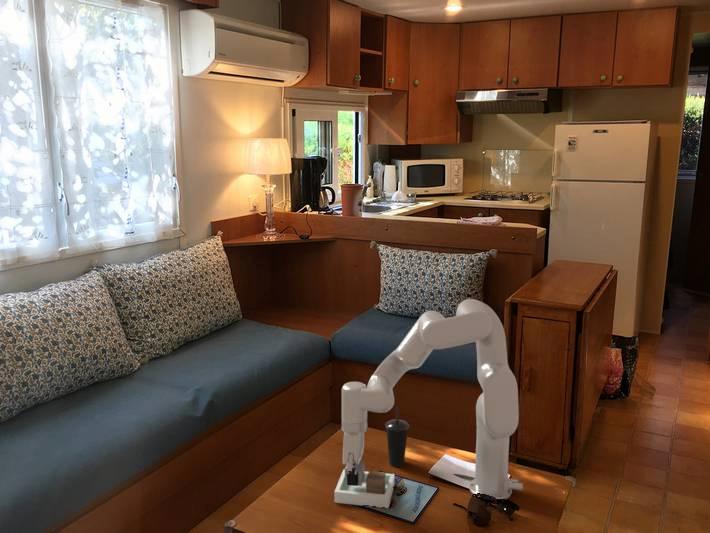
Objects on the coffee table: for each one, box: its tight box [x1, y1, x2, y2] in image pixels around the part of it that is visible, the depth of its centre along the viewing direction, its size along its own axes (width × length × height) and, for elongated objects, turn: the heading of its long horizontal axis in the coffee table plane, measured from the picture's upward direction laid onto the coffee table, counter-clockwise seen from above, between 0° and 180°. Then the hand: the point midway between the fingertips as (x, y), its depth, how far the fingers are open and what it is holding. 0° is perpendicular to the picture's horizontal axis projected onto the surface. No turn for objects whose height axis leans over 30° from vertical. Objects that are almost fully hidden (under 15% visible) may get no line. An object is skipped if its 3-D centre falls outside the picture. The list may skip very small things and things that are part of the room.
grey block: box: [344, 461, 365, 486], centre depth 199 cm, size 5×5×5 cm
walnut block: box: [366, 470, 387, 494], centre depth 198 cm, size 5×5×5 cm
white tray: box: [333, 468, 395, 509], centre depth 199 cm, size 16×13×4 cm
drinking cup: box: [384, 405, 410, 468], centre depth 215 cm, size 8×8×20 cm
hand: (354, 479), depth 199 cm, fingers closed on grey block, 5 cm apart
